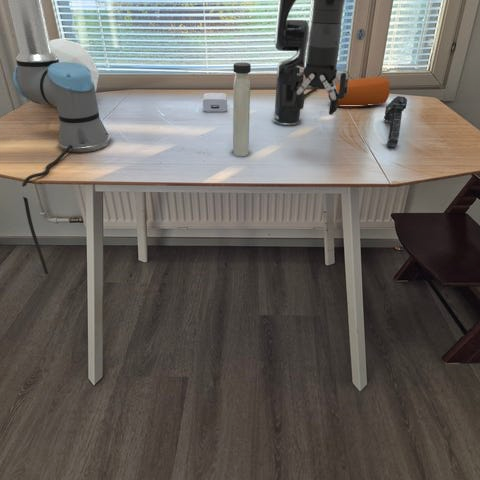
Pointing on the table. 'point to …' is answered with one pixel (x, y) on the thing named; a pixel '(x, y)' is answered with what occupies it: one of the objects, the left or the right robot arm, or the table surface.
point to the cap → (242, 68)
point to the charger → (215, 102)
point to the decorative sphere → (74, 55)
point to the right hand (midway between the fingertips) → (315, 111)
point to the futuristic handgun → (395, 118)
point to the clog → (365, 91)
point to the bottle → (241, 114)
